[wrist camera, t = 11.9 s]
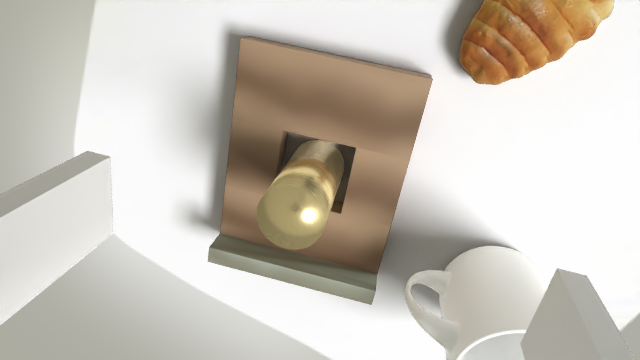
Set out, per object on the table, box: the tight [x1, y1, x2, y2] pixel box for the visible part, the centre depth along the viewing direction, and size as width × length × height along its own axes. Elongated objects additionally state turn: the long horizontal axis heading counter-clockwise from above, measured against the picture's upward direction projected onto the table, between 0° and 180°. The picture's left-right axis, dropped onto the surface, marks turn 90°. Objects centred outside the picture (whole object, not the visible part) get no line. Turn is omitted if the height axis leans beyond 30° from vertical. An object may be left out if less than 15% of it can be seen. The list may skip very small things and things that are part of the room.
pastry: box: [459, 0, 614, 85], centre depth 28 cm, size 9×7×4 cm
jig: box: [208, 36, 433, 305], centre depth 35 cm, size 18×14×4 cm
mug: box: [405, 246, 548, 360], centre depth 33 cm, size 9×12×11 cm
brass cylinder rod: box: [256, 140, 344, 250], centre depth 32 cm, size 4×4×10 cm
